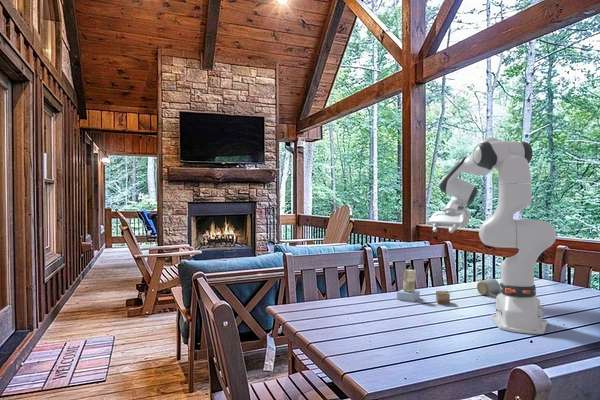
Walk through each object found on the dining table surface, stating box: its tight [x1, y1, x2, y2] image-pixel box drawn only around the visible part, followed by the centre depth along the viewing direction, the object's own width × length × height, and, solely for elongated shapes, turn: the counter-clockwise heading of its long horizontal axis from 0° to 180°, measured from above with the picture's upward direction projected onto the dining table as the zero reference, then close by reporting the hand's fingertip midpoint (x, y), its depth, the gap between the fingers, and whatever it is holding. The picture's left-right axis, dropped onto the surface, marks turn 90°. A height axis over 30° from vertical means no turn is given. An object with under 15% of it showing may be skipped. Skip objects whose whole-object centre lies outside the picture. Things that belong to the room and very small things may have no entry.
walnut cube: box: [435, 290, 451, 306], centre depth 172 cm, size 5×5×5 cm
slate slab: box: [396, 288, 421, 303], centre depth 181 cm, size 8×8×4 cm
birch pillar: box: [402, 268, 417, 292], centre depth 181 cm, size 4×4×10 cm
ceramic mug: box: [476, 278, 501, 299], centre depth 183 cm, size 11×8×8 cm
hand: (442, 231), depth 188 cm, fingers open, 8 cm apart
